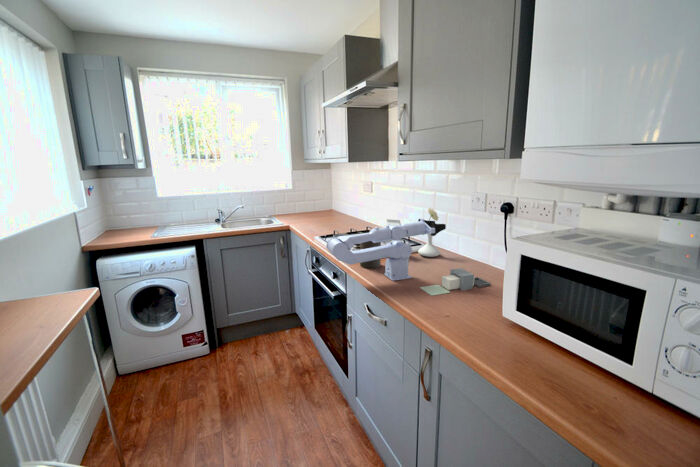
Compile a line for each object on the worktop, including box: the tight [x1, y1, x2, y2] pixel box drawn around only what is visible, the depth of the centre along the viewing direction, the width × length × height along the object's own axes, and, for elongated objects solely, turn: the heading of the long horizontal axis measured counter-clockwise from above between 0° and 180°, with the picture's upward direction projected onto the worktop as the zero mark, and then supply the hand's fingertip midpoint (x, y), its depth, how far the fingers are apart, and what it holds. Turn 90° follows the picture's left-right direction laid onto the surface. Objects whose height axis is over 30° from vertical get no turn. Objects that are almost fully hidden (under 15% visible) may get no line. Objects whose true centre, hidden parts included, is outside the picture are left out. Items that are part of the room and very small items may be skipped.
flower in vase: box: [417, 207, 441, 258], centre depth 166 cm, size 13×11×25 cm
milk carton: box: [384, 219, 402, 245], centre depth 168 cm, size 7×7×19 cm
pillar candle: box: [359, 241, 382, 270], centre depth 151 cm, size 10×10×15 cm
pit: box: [473, 276, 491, 288], centre depth 130 cm, size 6×7×1 cm
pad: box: [419, 284, 451, 297], centre depth 124 cm, size 8×8×1 cm
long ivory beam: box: [441, 274, 476, 291], centre depth 127 cm, size 12×4×4 cm, turn 110°
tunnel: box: [449, 267, 475, 291], centre depth 127 cm, size 5×8×6 cm, turn 20°
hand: (439, 224), depth 140 cm, fingers open, 7 cm apart
